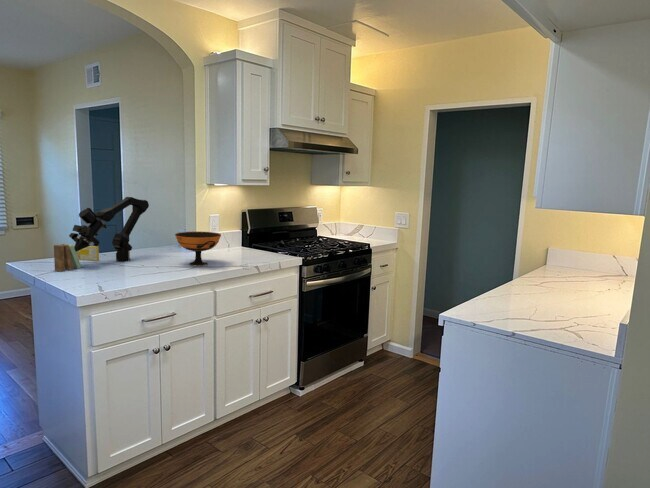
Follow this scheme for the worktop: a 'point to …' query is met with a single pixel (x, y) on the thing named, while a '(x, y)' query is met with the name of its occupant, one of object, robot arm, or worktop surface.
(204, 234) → the cup
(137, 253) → the worktop surface
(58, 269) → the walnut domino end
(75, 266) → the green domino
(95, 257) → the candy box
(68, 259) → the walnut domino middle
